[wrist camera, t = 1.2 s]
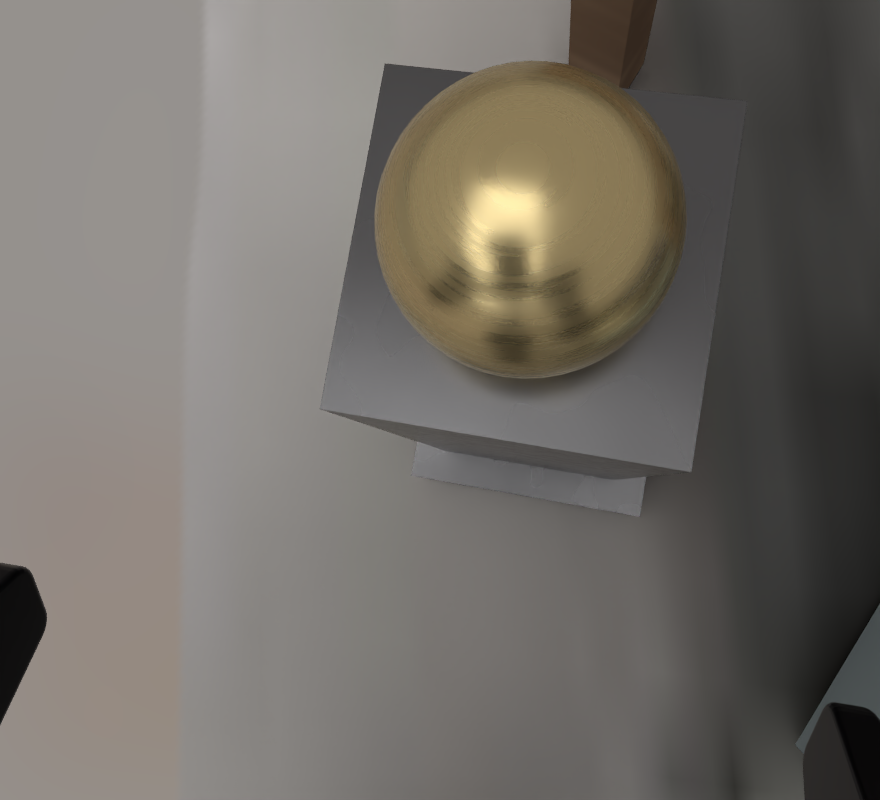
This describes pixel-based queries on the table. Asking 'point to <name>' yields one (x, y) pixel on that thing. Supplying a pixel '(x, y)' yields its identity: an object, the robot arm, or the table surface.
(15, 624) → the robot arm
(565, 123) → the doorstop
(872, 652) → the door
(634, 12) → the door frame
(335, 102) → the table surface
